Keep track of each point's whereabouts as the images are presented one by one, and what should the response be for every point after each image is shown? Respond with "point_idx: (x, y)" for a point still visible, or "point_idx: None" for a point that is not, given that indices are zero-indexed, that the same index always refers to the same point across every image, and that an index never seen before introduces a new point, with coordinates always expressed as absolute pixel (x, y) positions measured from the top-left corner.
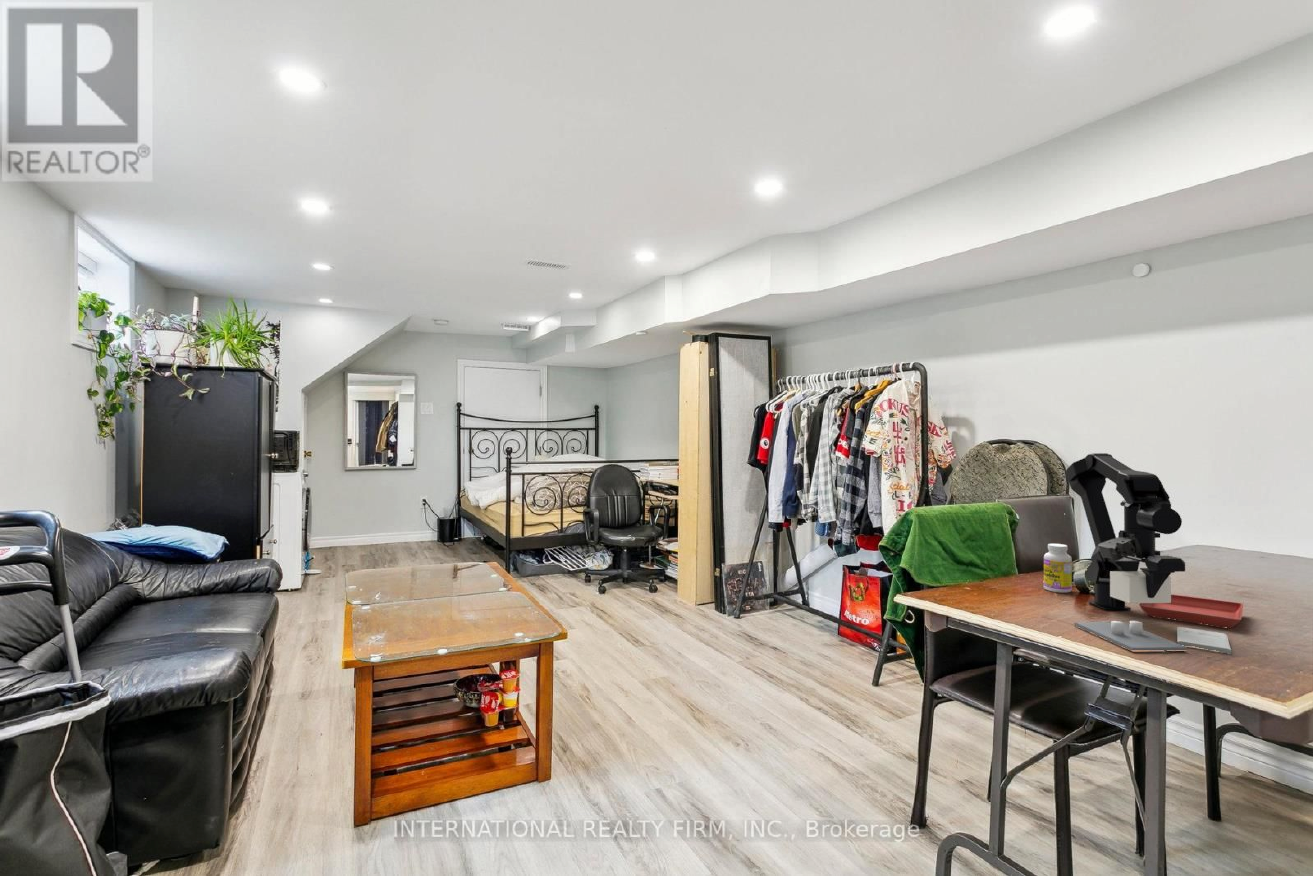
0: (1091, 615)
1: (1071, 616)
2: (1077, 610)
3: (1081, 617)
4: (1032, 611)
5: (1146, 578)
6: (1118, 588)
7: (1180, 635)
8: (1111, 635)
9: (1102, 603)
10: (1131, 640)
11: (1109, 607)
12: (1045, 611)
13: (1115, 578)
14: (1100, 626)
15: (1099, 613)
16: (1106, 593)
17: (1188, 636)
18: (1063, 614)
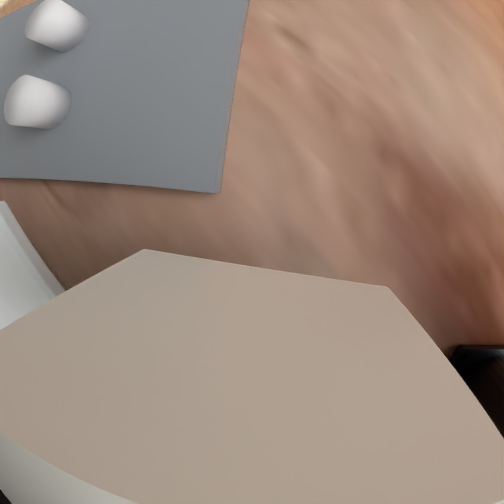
0: (426, 202)
1: (423, 80)
2: (498, 212)
3: (403, 113)
4: (487, 5)
5: (5, 496)
6: (274, 317)
7: (26, 270)
8: (68, 4)
9: (488, 366)
10: (21, 45)
11: (459, 372)
12: (493, 49)
13: (357, 418)
14: (164, 17)
15: (440, 278)
16: (498, 405)
17: (20, 286)
18: (455, 76)
